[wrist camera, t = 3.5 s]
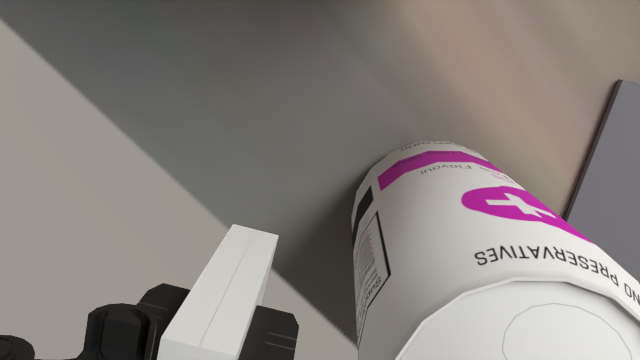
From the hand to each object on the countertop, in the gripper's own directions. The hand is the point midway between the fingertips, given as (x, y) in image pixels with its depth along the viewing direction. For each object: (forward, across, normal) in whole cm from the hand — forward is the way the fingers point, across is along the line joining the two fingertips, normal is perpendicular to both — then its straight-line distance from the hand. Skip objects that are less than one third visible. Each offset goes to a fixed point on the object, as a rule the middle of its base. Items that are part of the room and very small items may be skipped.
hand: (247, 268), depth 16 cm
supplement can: (+11, +8, 0) cm, 14 cm away
